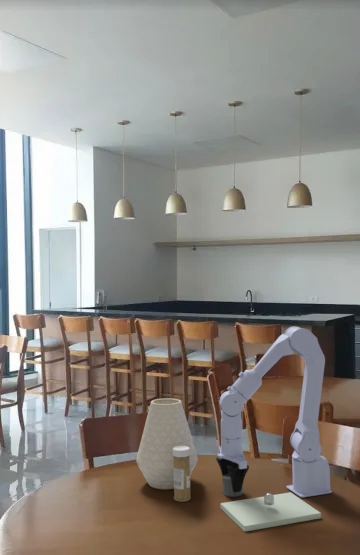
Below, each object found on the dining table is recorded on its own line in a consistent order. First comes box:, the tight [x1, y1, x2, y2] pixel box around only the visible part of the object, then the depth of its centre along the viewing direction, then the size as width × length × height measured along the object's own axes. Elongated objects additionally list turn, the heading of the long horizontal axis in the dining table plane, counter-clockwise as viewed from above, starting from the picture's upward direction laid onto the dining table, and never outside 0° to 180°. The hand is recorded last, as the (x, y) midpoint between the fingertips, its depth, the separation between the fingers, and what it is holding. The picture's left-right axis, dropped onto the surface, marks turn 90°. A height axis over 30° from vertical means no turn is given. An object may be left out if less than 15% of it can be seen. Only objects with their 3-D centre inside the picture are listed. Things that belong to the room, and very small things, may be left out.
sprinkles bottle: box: [173, 446, 192, 503], centre depth 142 cm, size 5×5×13 cm
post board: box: [219, 491, 322, 532], centre depth 132 cm, size 20×14×5 cm
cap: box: [222, 473, 244, 498], centre depth 145 cm, size 5×5×4 cm
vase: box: [136, 397, 199, 491], centre depth 154 cm, size 17×17×23 cm
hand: (232, 487), depth 145 cm, fingers closed on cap, 5 cm apart
